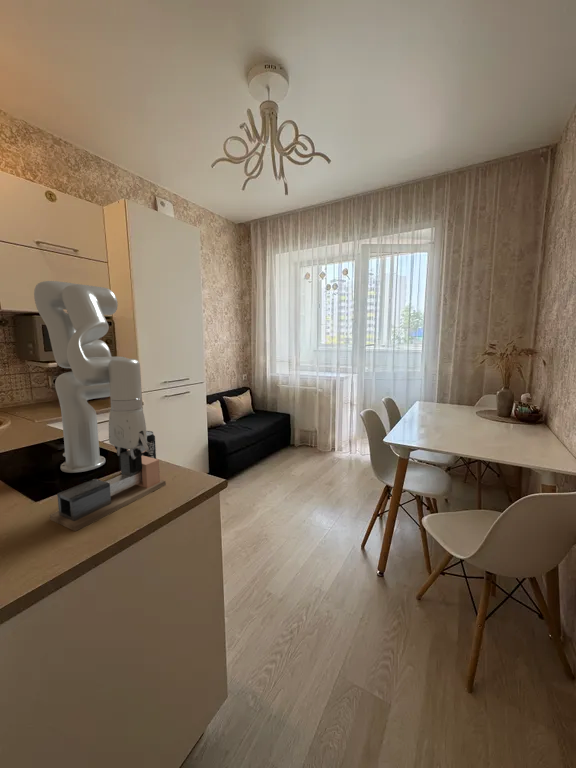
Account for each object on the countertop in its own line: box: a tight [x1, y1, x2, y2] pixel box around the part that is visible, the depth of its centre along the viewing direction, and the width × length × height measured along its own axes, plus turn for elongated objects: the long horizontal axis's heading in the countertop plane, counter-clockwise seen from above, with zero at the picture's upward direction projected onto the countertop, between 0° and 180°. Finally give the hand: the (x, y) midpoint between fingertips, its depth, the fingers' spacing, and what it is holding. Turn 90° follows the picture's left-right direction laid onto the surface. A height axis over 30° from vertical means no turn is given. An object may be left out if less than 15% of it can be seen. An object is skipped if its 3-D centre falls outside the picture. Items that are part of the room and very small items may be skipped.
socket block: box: [136, 456, 161, 488], centre depth 92 cm, size 8×4×7 cm, turn 64°
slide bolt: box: [104, 449, 143, 496], centre depth 85 cm, size 4×16×9 cm, turn 154°
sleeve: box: [56, 478, 111, 521], centre depth 77 cm, size 6×9×5 cm, turn 154°
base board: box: [49, 479, 167, 532], centre depth 84 cm, size 10×26×1 cm, turn 153°
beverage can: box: [135, 430, 157, 459], centre depth 104 cm, size 7×7×12 cm
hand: (130, 468), depth 88 cm, fingers open, 3 cm apart
